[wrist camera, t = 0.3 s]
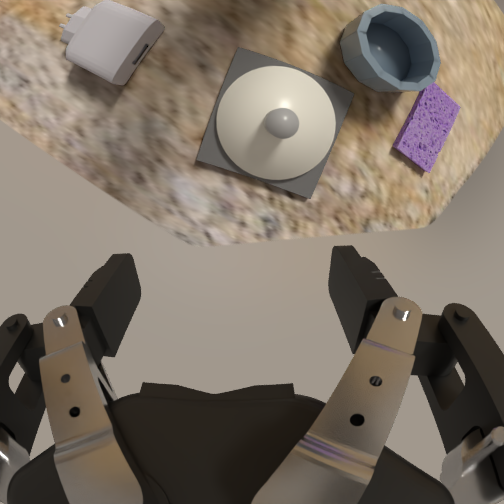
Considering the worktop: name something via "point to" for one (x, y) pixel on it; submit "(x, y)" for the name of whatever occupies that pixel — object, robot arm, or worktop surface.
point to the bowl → (390, 50)
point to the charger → (109, 39)
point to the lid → (276, 122)
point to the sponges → (427, 126)
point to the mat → (216, 154)
